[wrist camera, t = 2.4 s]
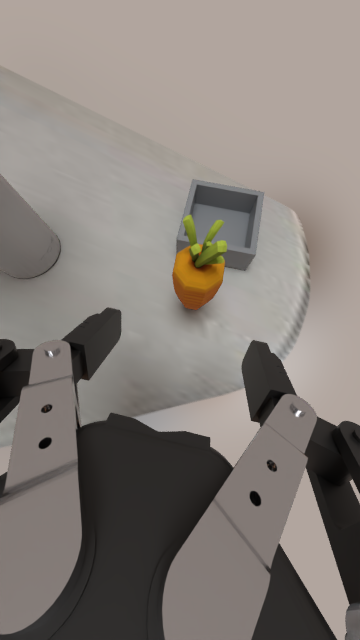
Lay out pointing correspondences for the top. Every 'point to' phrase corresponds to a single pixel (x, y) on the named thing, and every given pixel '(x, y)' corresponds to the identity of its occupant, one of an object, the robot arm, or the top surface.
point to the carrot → (199, 267)
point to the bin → (224, 219)
